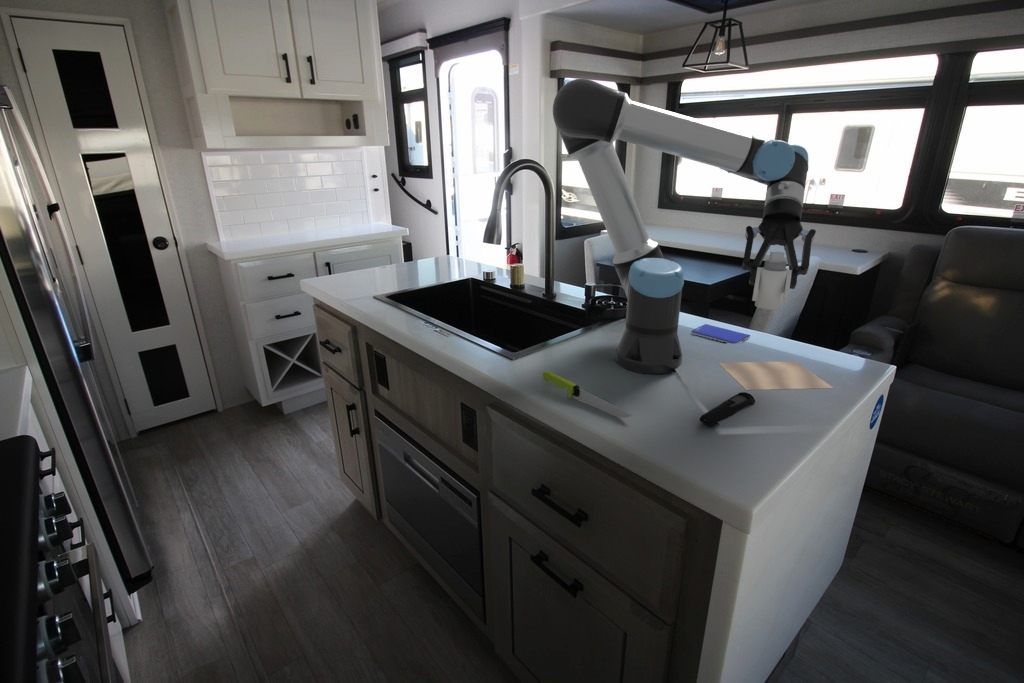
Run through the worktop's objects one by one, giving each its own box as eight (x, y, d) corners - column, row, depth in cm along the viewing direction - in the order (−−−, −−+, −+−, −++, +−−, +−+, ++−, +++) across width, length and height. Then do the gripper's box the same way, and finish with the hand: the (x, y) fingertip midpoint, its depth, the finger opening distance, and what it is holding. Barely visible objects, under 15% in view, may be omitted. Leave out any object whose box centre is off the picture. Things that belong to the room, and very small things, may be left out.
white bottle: (761, 310, 105) (771, 254, 101) (750, 303, 110) (759, 250, 106) (785, 309, 106) (796, 254, 101) (773, 302, 110) (783, 249, 106)
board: (745, 394, 104) (746, 389, 104) (717, 366, 117) (718, 362, 117) (832, 392, 104) (833, 387, 104) (794, 365, 117) (795, 361, 117)
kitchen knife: (632, 426, 95) (634, 413, 93) (628, 429, 94) (630, 415, 93) (545, 381, 109) (546, 369, 108) (541, 383, 108) (542, 370, 107)
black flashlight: (692, 425, 93) (694, 410, 92) (739, 400, 102) (741, 386, 101) (710, 434, 91) (713, 419, 89) (757, 407, 99) (759, 393, 98)
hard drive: (691, 330, 138) (736, 342, 129) (706, 323, 143) (750, 334, 134) (690, 335, 138) (735, 347, 130) (705, 328, 143) (749, 339, 135)
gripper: (739, 195, 112) (723, 285, 104) (834, 197, 105) (824, 294, 97) (737, 216, 119) (722, 303, 111) (826, 220, 111) (816, 313, 103)
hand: (769, 298), depth 104 cm, fingers closed on white bottle, 5 cm apart
